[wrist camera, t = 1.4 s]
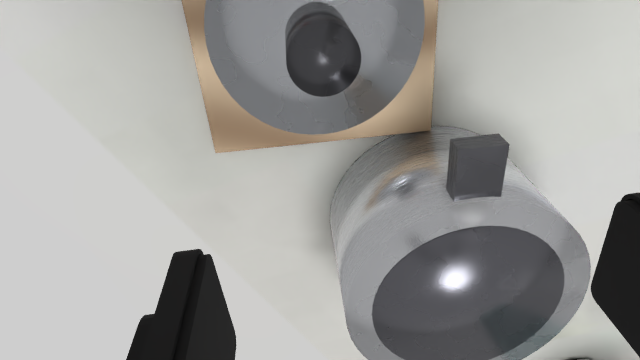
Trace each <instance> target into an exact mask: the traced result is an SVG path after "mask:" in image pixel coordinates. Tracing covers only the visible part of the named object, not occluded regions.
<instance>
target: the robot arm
mask: <svg viewBox="0 0 640 360" xmlns="http://www.w3.org/2000/svg"><path fill="white" fill-rule="evenodd" d="M591 292H592V296H593V298H594V300H595V301H596V303H597V304H598V305H599V306H600V308H601V309H602V310H603V311H604V313H605V314H606V315H607V316H608V318H609V319H610V320H611V322H612V323H613V324H614V325H615V327H616V328H617V329H618V330H619V332H620V333H621V334H622V335H623V337H624V338H625V339H626V341H627V342H628V343H629V344H630V346H631V347H632V348H633V349H634V351H635V352H636V353H637V354H638V356H639V357H640V193H633V194H628V195H625V196H624V197H623V198H622V200H621V202H618V203H617V204H616V206H615V208H614V211H613V215H612V218H611V221H610V225H609V228H608V231H607V234H606V238H605V241H604V244H603V247H602V251H601V254H600V257H599V261H598V264H597V267H596V270H595V274H594V277H593V280H592V284H591ZM235 351H236V335H235V330H234V327H233V324H232V321H231V317H230V314H229V311H228V308H227V304H226V301H225V298H224V295H223V292H222V289H221V285H220V282H219V279H218V276H217V273H216V269H215V266H214V262H213V259H212V257H211V255H210V254H207V255H204V254H203V252H202V251H201V250H200V249H196V250H189V251H180V252H175V253H174V254H173V257H172V260H171V263H170V266H169V269H168V272H167V276H166V279H165V282H164V285H163V289H162V292H161V295H160V298H159V301H158V305H157V308H156V311H155V314H150V315H144V316H143V317H142V318H141V320H140V322H139V324H138V327H137V330H136V333H135V336H134V339H133V342H132V344H131V347H130V350H129V353H128V356H127V359H126V360H235Z"/></svg>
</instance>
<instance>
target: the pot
mask: <svg viewBox="0 0 640 360" xmlns="http://www.w3.org/2000/svg"><path fill="white" fill-rule="evenodd" d="M508 150H509V144H508V143H507V142H506V141H505V140H504V139H503V138H502V137H501V136H500V135H499V134H492V135H482V136H481V135H479V134H477V133H474V132H471V131H469V130H465V129H460V128H456V127H445V126H436V127H431V131H422V132H413V133H403V134H397V135H395V136H392V137H390V138H388V139H386V140H384V141H382V142H380V143H379V144H377V145H375V146H374V147H372V148H371V149H370V150H368V151H367V152H365V153H364V154H363V155H362V156H361V157H360V158H359V159H358V160H357V161H355V162H354V164H353V165H352V166H351V167H350V168H349V169H348V171H347V172H346V173H345V175H344V176H343V178H342V179H341V181H340V183H339V185H338V187H337V189H336V191H335V194H334V197H333V200H332V204H331V210H330V226H331V232H332V238H333V244H334V250H335V256H336V262H337V268H338V274H339V280H340V286H341V293H342V299H343V305H344V311H345V317H346V323H347V329H348V331H349V334H350V337H351V339H352V341H353V342H354V344H355V346H356V347H357V349H358V350H359V351H360V352H361V353H362V354H363V356H365V357H366V358H367V359H368V360H521V359H523V358H525V357H527V356H528V355H530V354H532V353H533V352H535V351H537V350H538V349H539V348H541V347H542V346H544V345H545V344H546V343H548V342H549V341H550V340H551V339H552V338H553V337H555V336H556V335H557V334H558V333H559V332H560V331H561V330H562V329H563V328H564V327H565V326H566V325H567V323H568V322H569V321H570V320H571V318H572V317H573V316H574V314H575V313H576V311H577V310H578V308H579V306H580V304H581V303H582V301H583V299H584V296H585V294H586V291H587V288H588V284H589V280H590V267H591V266H590V258H589V253H588V250H587V248H586V245H585V243H584V241H583V239H582V238H581V236H580V234H579V233H578V232H577V231H576V230H575V229H574V228H573V226H572V225H571V224H570V223H569V222H568V221H567V220H566V219H565V218H564V217H563V216H562V215H561V214H560V213H559V212H558V210H557V209H556V208H555V207H554V206H553V205H552V204H551V203H550V202H549V201H548V200H547V199H546V198H545V197H544V196H543V194H542V193H541V192H540V191H539V190H538V189H537V188H536V187H535V186H534V185H533V184H532V183H531V182H530V181H529V180H528V179H527V177H526V176H525V175H524V174H523V173H522V172H521V171H520V170H519V169H518V168H517V167H516V166H515V165H514V164H513V163H512V162H511V160H510V159H509V158H508V157H507V156H508Z"/></svg>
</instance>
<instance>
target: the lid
mask: <svg viewBox="0 0 640 360" xmlns="http://www.w3.org/2000/svg"><path fill="white" fill-rule="evenodd" d="M424 26H425V14H424V3H423V0H206V4H205V12H204V32H205V39H206V46H207V50H208V53H209V57H210V60H211V63H212V65H213V67H214V70H215V72H216V74H217V76H218V78H219V80H220V81H221V83H222V85H223V86H224V88H225V89H226V90H227V92H228V93H229V94H230V96H231V97H232V98H233V99H234V100H235V101H236V102H237V103H238V104H239V105H240V106H241V107H242V108H243V109H245V110H246V111H247V112H248V113H249V114H251V115H252V116H254V117H255V118H257V119H259V120H260V121H262V122H264V123H266V124H268V125H270V126H272V127H275V128H278V129H281V130H284V131H287V132H292V133H297V134H308V135H317V134H328V133H334V132H339V131H342V130H346V129H349V128H352V127H354V126H356V125H359V124H361V123H363V122H365V121H366V120H368V119H370V118H372V117H373V116H374V115H376V114H377V113H379V112H380V111H381V110H383V109H384V108H385V107H386V106H387V105H388V104H389V103H390V102H391V101H392V100H393V99H394V98H395V97H396V96H397V94H398V93H399V92H400V91H401V90H402V88H403V87H404V85H405V84H406V82H407V81H408V79H409V77H410V75H411V73H412V71H413V69H414V67H415V65H416V62H417V60H418V57H419V54H420V50H421V46H422V42H423V36H424Z"/></svg>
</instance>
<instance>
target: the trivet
mask: <svg viewBox="0 0 640 360" xmlns="http://www.w3.org/2000/svg"><path fill="white" fill-rule="evenodd" d="M423 3H424V14H425V26H424V36H423V42H422V46H421V50H420V54H419V57H418V60H417V62H416V65H415V67H414V69H413V71H412V73H411V75H410V77H409V79H408V81H407V82H406V84H405V85H404V87H403V88H402V90H401V91H400V92H399V93H398V94H397V96H396V97H395V98H394V99H393V100H392V101H391V102H390V103H389V104H388V105H387V106H386V107H385V108H384V109H383V110H381V111H380V112H379V113H377V114H376V115H374V116H373V117H372V118H370V119H368V120H366V121H365V122H363V123H361V124H359V125H356V126H354V127H352V128H349V129H346V130H342V131H339V132H334V133H328V134H317V135H308V134H297V133H292V132H287V131H284V130H281V129H278V128H275V127H272V126H270V125H268V124H266V123H264V122H262V121H260V120H259V119H257V118H255V117H254V116H252V115H251V114H249V113H248V112H247V111H246V110H245V109H243V108H242V107H241V106H240V105H239V104H238V103H237V102H236V101H235V100H234V99H233V98H232V97H231V96H230V94H229V93H228V92H227V90H226V89H225V88H224V86H223V85H222V83H221V81H220V80H219V78H218V76H217V74H216V72H215V70H214V67H213V65H212V63H211V60H210V57H209V53H208V50H207V46H206V39H205V32H204V12H205V4H206V0H182V5H183V9H184V13H185V18H186V22H187V27H188V31H189V36H190V40H191V45H192V49H193V54H194V58H195V63H196V67H197V72H198V76H199V81H200V85H201V90H202V94H203V99H204V103H205V108H206V112H207V116H208V121H209V125H210V130H211V134H212V139H213V143H214V148H215V152H216V153H221V152H231V151H240V150H250V149H259V148H269V147H279V146H288V145H298V144H307V143H317V142H326V141H336V140H346V139H355V138H365V137H374V136H384V135H393V134H403V133H413V132H422V131H431V118H432V100H433V82H434V65H435V47H436V30H437V12H438V0H423Z"/></svg>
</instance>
